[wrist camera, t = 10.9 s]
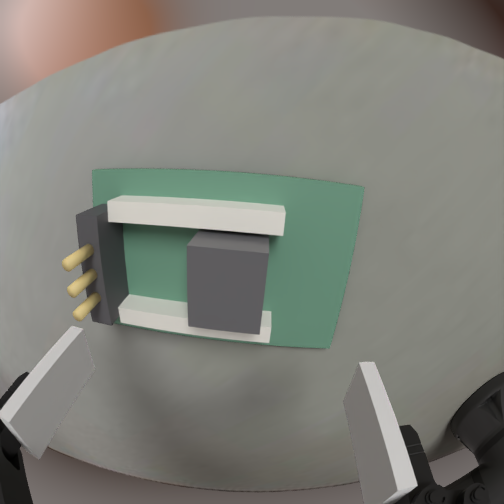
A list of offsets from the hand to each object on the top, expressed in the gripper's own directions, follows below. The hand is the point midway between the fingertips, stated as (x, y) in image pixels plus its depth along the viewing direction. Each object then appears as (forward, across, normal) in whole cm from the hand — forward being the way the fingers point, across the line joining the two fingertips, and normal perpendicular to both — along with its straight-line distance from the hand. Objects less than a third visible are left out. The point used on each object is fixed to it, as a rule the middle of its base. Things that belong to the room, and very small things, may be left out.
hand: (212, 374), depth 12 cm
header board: (+12, +2, 0) cm, 13 cm away
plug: (+12, 0, 0) cm, 12 cm away
